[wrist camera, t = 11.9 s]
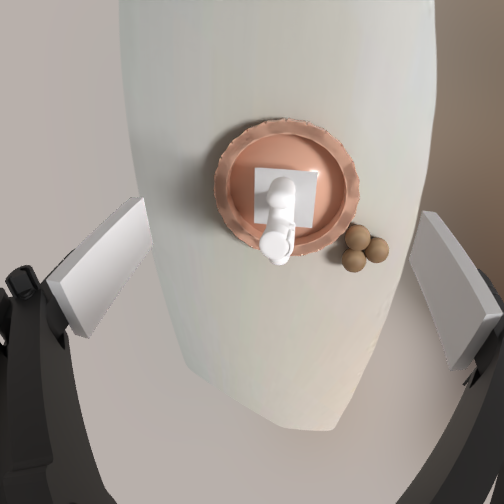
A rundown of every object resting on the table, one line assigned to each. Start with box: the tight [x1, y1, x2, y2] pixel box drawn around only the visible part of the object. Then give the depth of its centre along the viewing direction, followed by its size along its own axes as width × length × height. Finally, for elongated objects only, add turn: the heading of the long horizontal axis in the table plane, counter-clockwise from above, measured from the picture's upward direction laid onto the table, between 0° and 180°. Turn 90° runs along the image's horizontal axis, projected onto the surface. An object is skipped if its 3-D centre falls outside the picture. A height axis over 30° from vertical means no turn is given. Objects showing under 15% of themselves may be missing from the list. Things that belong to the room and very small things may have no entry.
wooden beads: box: [342, 225, 389, 272], centre depth 39 cm, size 7×7×4 cm
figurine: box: [254, 168, 318, 265], centre depth 32 cm, size 7×9×15 cm
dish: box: [213, 118, 360, 256], centre depth 37 cm, size 18×18×3 cm
